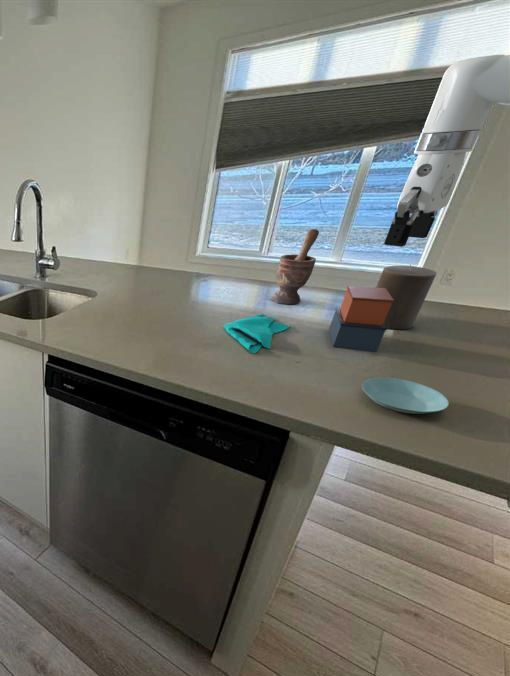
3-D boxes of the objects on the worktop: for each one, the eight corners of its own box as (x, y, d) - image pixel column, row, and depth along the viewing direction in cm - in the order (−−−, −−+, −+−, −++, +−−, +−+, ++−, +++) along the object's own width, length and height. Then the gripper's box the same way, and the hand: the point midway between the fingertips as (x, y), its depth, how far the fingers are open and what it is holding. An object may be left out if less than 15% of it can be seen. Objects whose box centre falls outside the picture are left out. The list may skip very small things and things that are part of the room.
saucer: (406, 427, 70) (411, 416, 68) (342, 393, 80) (346, 383, 78) (461, 414, 71) (467, 403, 70) (391, 383, 81) (396, 373, 80)
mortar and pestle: (270, 292, 131) (287, 227, 121) (302, 294, 127) (323, 228, 117) (268, 303, 123) (286, 235, 113) (302, 306, 119) (324, 236, 109)
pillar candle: (374, 329, 102) (398, 270, 95) (356, 315, 110) (377, 260, 103) (421, 330, 100) (450, 269, 92) (399, 316, 108) (424, 259, 100)
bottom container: (368, 333, 100) (378, 311, 97) (376, 352, 92) (387, 328, 89) (328, 329, 104) (335, 307, 101) (332, 347, 96) (340, 323, 93)
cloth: (243, 312, 119) (244, 305, 117) (297, 322, 110) (299, 314, 108) (203, 341, 104) (204, 333, 103) (262, 356, 95) (264, 347, 94)
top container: (375, 312, 97) (385, 287, 94) (383, 326, 90) (393, 300, 87) (339, 309, 100) (347, 285, 97) (343, 322, 94) (352, 297, 91)
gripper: (454, 145, 67) (409, 251, 75) (492, 138, 74) (447, 236, 82) (397, 148, 72) (362, 246, 81) (437, 141, 79) (400, 232, 88)
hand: (405, 241), depth 82 cm, fingers open, 9 cm apart
